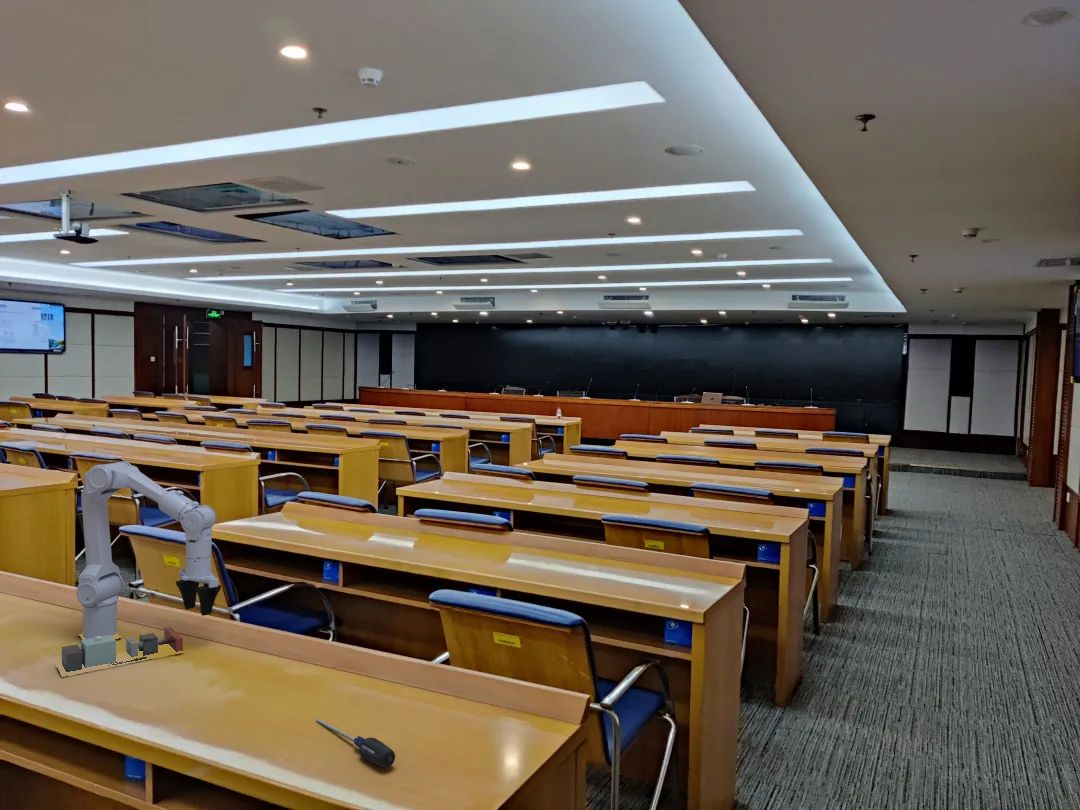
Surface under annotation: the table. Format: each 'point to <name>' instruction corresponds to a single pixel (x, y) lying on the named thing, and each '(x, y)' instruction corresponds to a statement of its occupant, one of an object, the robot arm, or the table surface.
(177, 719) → the table surface
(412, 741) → the table surface
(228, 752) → the table surface
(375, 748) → the screwdriver
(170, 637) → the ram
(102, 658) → the block
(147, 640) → the frame
